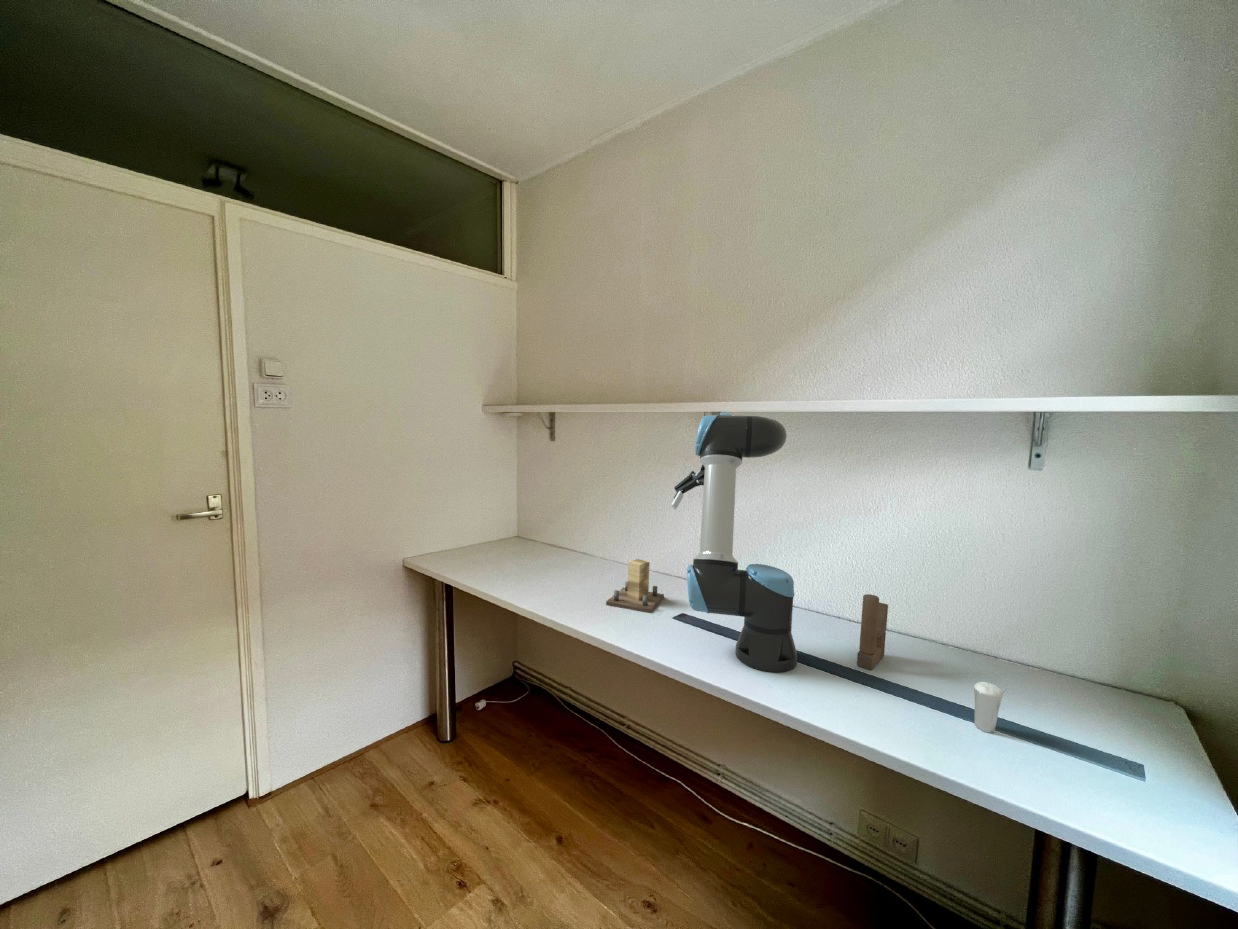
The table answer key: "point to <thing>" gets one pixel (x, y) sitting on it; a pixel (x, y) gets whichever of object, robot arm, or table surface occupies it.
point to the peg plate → (642, 605)
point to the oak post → (638, 579)
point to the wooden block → (872, 632)
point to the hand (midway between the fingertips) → (689, 510)
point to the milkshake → (987, 705)
